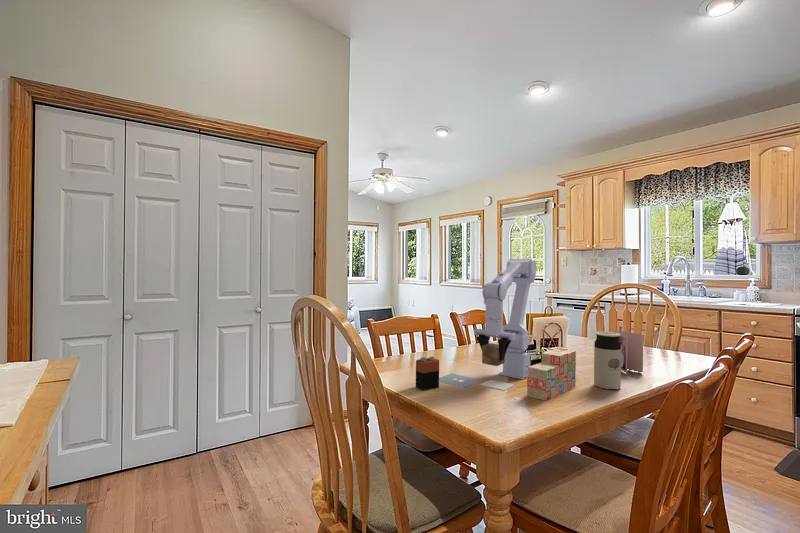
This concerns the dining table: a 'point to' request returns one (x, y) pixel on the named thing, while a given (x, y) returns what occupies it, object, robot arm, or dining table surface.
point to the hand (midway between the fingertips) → (493, 358)
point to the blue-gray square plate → (459, 380)
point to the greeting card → (631, 351)
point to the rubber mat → (497, 385)
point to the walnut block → (491, 355)
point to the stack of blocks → (552, 374)
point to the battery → (427, 373)
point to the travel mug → (607, 360)
